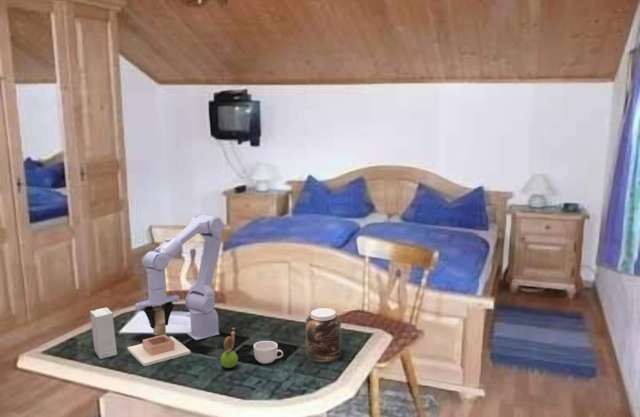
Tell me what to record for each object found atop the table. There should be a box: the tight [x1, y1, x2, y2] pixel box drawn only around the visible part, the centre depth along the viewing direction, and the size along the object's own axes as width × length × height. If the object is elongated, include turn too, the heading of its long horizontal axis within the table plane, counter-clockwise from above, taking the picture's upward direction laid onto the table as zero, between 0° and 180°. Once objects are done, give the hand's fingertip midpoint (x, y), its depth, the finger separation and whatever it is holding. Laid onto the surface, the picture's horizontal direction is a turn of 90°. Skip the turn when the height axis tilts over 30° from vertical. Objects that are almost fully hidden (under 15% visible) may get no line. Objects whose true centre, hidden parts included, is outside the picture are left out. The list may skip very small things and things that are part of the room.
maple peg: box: [152, 307, 167, 336], centre depth 194 cm, size 4×4×8 cm
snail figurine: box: [220, 327, 239, 369], centre depth 184 cm, size 5×6×12 cm
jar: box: [305, 307, 342, 363], centre depth 192 cm, size 12×12×15 cm
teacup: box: [253, 340, 284, 365], centre depth 188 cm, size 10×8×5 cm
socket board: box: [127, 333, 192, 367], centre depth 196 cm, size 16×16×4 cm
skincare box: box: [89, 307, 118, 360], centre depth 194 cm, size 8×6×15 cm
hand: (159, 326), depth 194 cm, fingers closed on maple peg, 4 cm apart
